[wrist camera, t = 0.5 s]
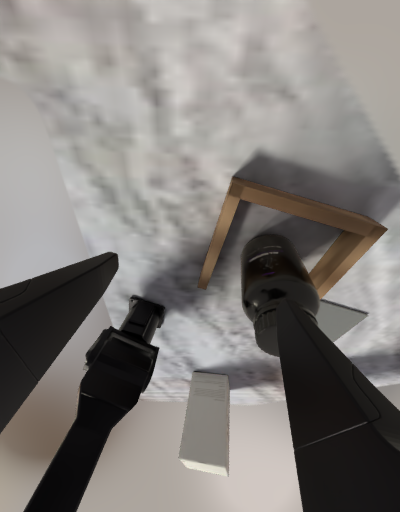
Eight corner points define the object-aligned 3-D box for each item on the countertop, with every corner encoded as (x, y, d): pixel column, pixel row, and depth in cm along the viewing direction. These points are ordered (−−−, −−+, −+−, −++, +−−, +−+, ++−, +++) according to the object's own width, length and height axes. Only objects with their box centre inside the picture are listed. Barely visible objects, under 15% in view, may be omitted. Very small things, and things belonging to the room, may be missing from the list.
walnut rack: (296, 301, 27) (302, 317, 25) (200, 273, 27) (197, 287, 24) (368, 216, 19) (388, 229, 16) (232, 176, 19) (232, 182, 16)
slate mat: (327, 344, 31) (328, 346, 31) (278, 330, 31) (278, 331, 31) (366, 313, 26) (368, 315, 26) (308, 296, 26) (309, 298, 26)
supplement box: (197, 386, 50) (185, 468, 38) (192, 370, 45) (176, 459, 33) (230, 390, 48) (229, 478, 36) (228, 374, 43) (226, 469, 31)
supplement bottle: (260, 222, 21) (283, 298, 11) (307, 248, 22) (367, 339, 12) (230, 262, 25) (227, 345, 15) (271, 283, 26) (294, 373, 16)
